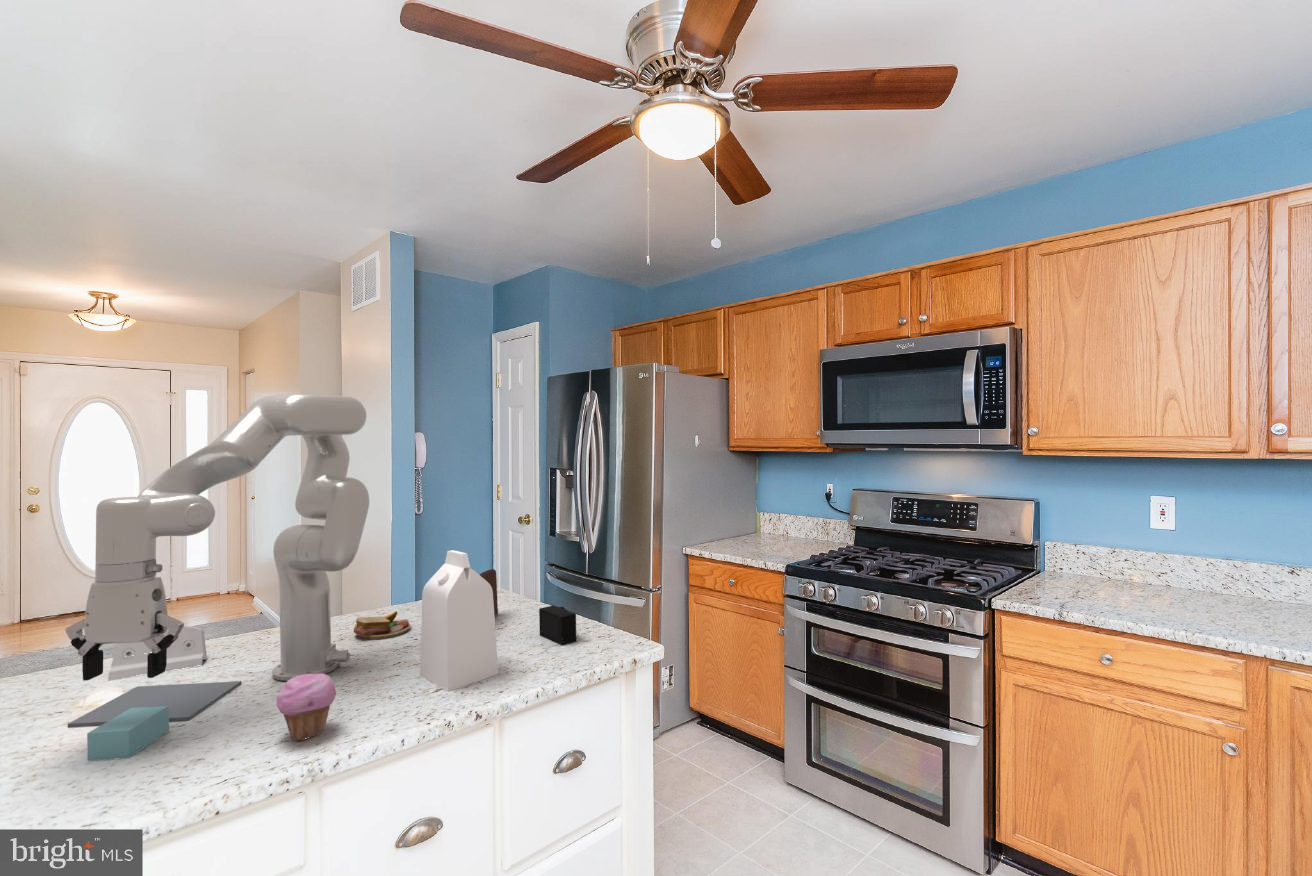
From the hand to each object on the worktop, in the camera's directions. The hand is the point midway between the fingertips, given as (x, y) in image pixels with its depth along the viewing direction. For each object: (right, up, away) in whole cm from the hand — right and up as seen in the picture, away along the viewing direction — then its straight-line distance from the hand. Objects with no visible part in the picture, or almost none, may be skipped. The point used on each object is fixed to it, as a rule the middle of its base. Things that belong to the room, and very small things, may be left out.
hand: (124, 676), depth 99 cm
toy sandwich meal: (+17, -12, +57) cm, 60 cm away
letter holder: (+37, -11, +62) cm, 73 cm away
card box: (0, -12, +1) cm, 12 cm away
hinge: (-23, -12, +35) cm, 43 cm away
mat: (-7, -12, +16) cm, 21 cm away
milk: (+46, -11, +28) cm, 55 cm away
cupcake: (+28, -11, +3) cm, 31 cm away
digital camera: (+64, -11, +51) cm, 82 cm away
